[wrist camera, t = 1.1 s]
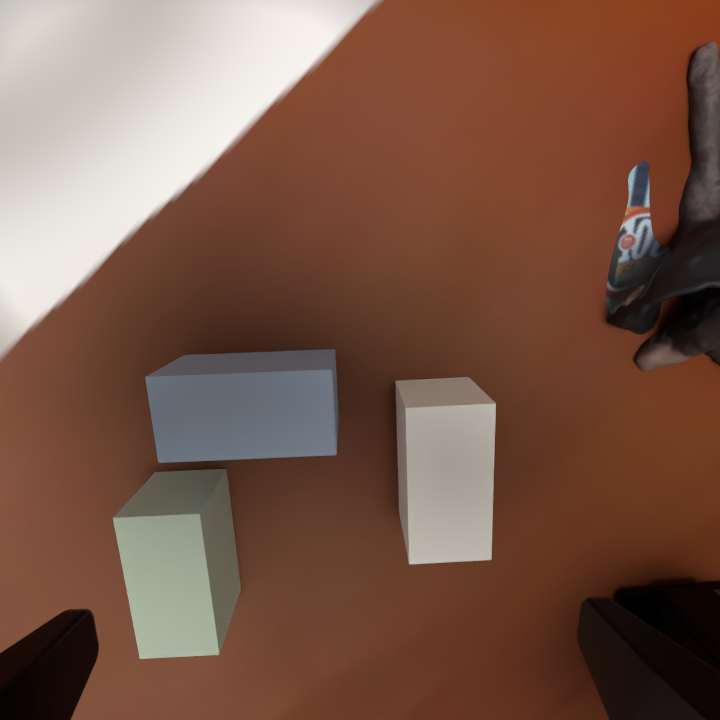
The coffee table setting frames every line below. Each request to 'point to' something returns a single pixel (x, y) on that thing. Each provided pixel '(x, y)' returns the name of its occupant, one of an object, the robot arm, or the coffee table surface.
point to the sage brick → (180, 562)
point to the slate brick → (245, 406)
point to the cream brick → (445, 469)
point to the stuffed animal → (676, 241)
